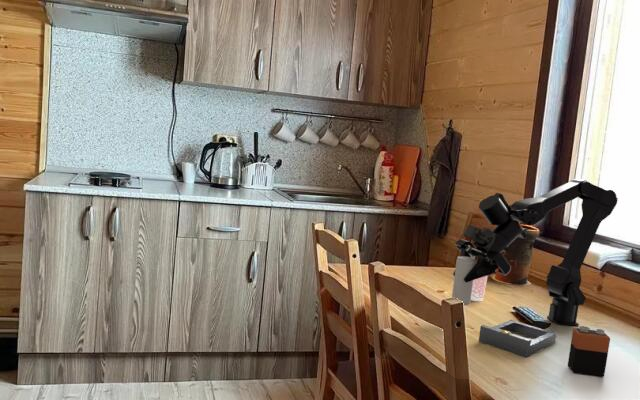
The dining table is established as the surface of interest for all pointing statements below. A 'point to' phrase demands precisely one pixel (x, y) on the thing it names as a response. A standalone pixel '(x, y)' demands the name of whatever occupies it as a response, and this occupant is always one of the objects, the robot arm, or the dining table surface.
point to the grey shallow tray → (516, 337)
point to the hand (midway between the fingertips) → (459, 278)
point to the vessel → (519, 258)
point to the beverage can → (461, 287)
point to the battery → (588, 351)
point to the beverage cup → (478, 289)
